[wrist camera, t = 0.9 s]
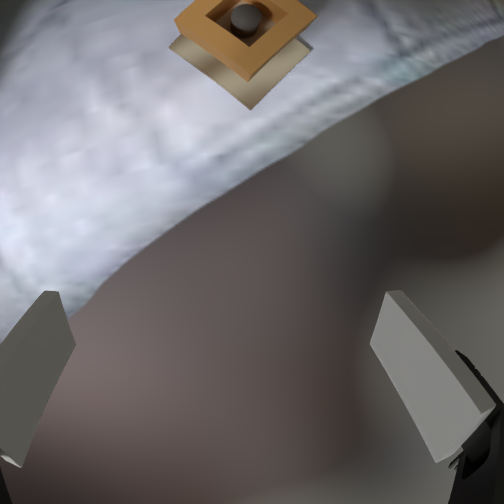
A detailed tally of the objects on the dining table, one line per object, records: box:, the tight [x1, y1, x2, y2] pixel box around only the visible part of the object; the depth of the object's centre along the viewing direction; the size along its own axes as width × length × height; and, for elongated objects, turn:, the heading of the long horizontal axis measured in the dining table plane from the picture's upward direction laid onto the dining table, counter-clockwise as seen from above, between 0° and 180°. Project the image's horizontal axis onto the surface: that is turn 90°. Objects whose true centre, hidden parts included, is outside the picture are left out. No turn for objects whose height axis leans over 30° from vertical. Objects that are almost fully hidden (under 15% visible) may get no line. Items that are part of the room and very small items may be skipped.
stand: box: [169, 0, 311, 110], centre depth 22 cm, size 12×10×10 cm
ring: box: [174, 0, 317, 82], centre depth 18 cm, size 8×8×4 cm
